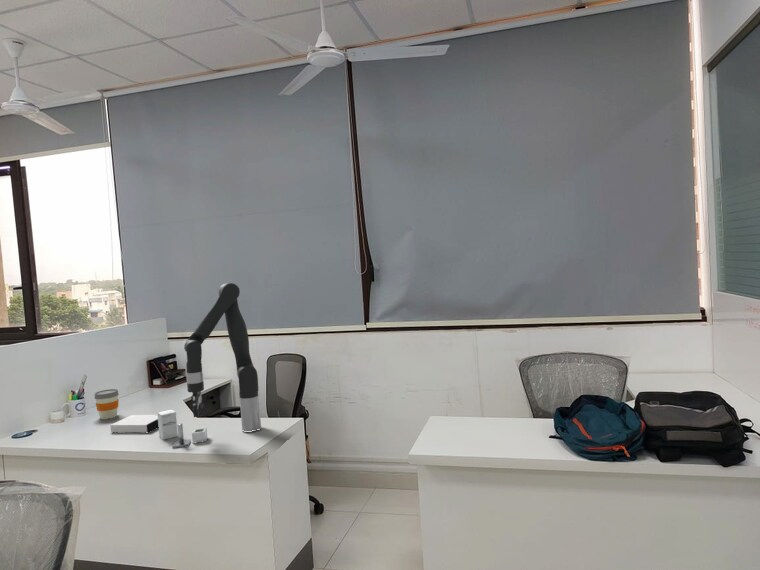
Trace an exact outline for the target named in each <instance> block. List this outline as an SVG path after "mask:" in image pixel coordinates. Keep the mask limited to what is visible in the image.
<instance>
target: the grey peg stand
mask: <svg viewBox="0 0 760 570" xmlns="http://www.w3.org/2000/svg"><path fill="white" fill-rule="evenodd" d="M177 432H178V436H177V438H178V440H177V441H176V440H175V441H174V443H173V445H172V446H171V447H172V449H177V447H180V448H186V447H185V446H188V445H190V444H191V442H190V441H191V440H192V439H184V427H183V423H177ZM189 443H190V444H189ZM188 447H189V446H188Z"/></svg>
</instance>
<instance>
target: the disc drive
mask: <svg viewBox="0 0 760 570" xmlns="http://www.w3.org/2000/svg"><path fill="white" fill-rule="evenodd" d="M158 427H159V426H158V414H131V415H129V416H127V417H124V418H123V419H121V420H118V421H117V422H114V423H112V424H110V433H111V432H112V433H111V434H126V433H125V432H150V431H152V430H153V431H155V430H157V429H159V428H158ZM156 428H157V429H156ZM154 429H155V430H154ZM153 431H152V432H153ZM113 432H115V433H113ZM116 432H118V433H116ZM119 432H120V433H119ZM122 432H123V433H122ZM150 433H151V432H150Z"/></svg>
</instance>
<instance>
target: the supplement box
mask: <svg viewBox="0 0 760 570" xmlns="http://www.w3.org/2000/svg"><path fill="white" fill-rule="evenodd" d="M156 415H158V426H159V428H158V435H159V438H160V437H161V438H162V439H161V438H160V439H161V440H163V441H164V440H168V439H171V438H172V439H173V438H177V437H178V423H177V422H178V420H177V412H176V411H175V410H173V409H168V410H164V411H158V412H157V413H156ZM176 436H177V437H176Z"/></svg>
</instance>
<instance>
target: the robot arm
mask: <svg viewBox="0 0 760 570" xmlns="http://www.w3.org/2000/svg"><path fill="white" fill-rule="evenodd" d="M240 292H241V291H240V287H239V286H238V285H237V284H235V283H234V282H225V283H222V284H221V285H220V287H219V289H218V298H217V300H216V302H215V303H214V305H213V306H212V308H211V309H210V310H209V311H208V312H207V313H206V314H205V315H204V317H203V318H202V319H201V320H200V322H199V324H198V325H197V327H196V329H195V330H194V331H193V332H192V334H190V336H189V337H188V339H187V340H186V341H185V343H184V345H183V347H184V351H185V352H186V362H185V364H186V366H185V367H186V385H187V387H186V388H187V392H188V393H192V394H191V396H190V399H191V400H190V401H191V409H192V411H193V413H192V416H193V417H194V418H198V417H199V413H201V412H202V405H201V404H202V400H203V397H202V391H204V390H205V383H204V382H205V380H204V373H203V366H202V365H203V364H202V354H203V353H202V352H203V351H202V344H203V343H204V341H205V340H207V339H208V338H209V337H210V335H211V334H212V332H213V331H214V329H215V328H216V326H217V325H218V323H219V322H220V321H221V319H222V317H223V316H224V317H225V323H226V329H227V335H228V339H229V343H230V346H231V348H232V351H233V354H234V358H235V363H236V364H235V365H236V376H237V378H238V386H239V387H238V388H239V390H238V391H239V394H238V395H239V406H240V417H241V419H240V420H241V430H244V431H252V430H257V429H261V430H262V421H261V409H260V401H259V400H260V399H259V377H258V371H257V369H256V368H255V367H254V363H253V361H252V357H251V353H250V340H249V339H250V338H249V333H248V329H247V328H248V327H247V325H246V322H245V320H244V318H243V315H242V313H241V311H240V307H239V303H238V302H239V301H238V298H239V296H240Z"/></svg>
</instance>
